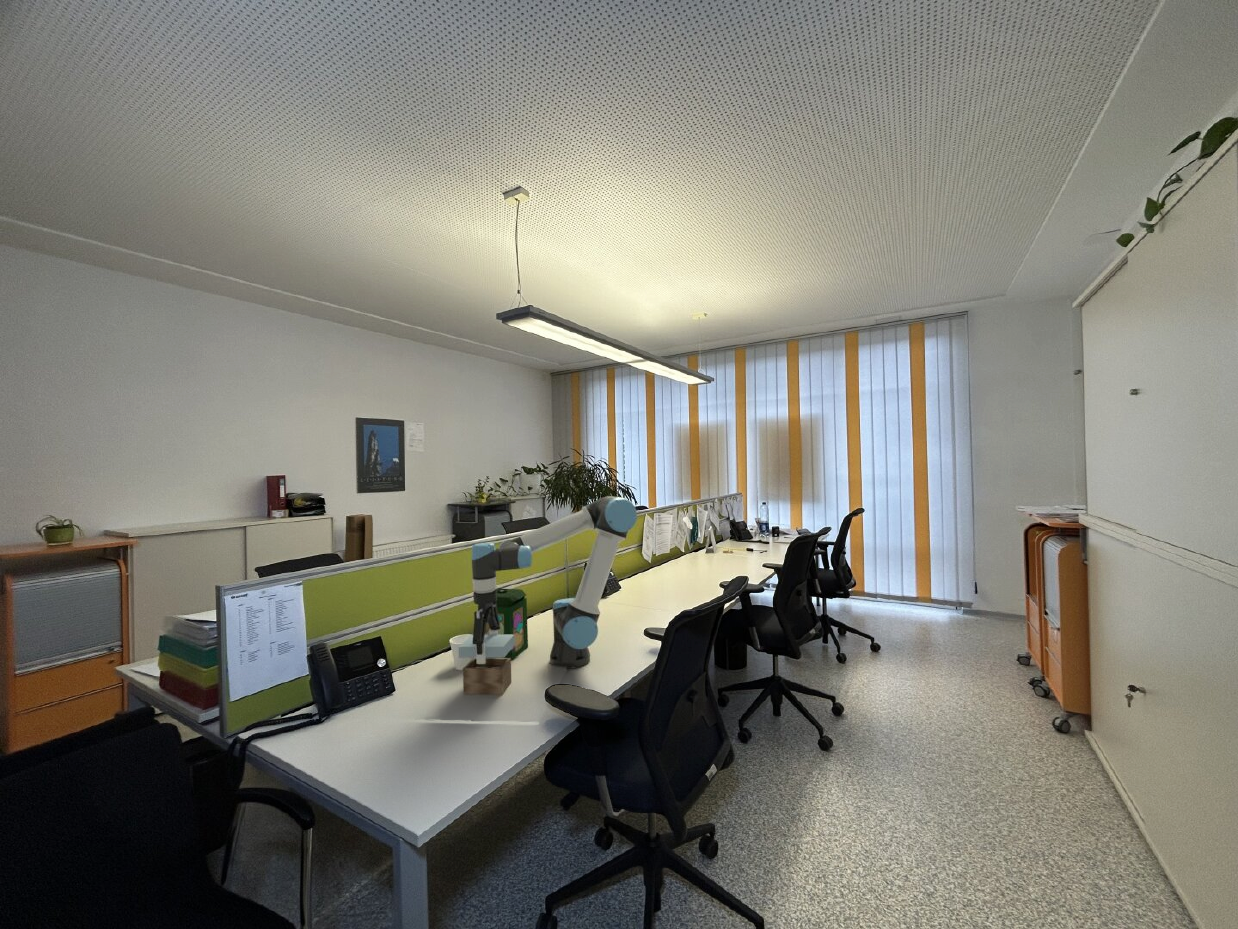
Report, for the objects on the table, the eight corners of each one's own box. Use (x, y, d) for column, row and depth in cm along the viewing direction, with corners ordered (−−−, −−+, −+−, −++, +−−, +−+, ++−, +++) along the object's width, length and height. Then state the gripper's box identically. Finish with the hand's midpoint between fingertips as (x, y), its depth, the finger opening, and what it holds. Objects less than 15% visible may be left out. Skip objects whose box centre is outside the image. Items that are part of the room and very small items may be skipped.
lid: (514, 644, 168) (514, 634, 168) (504, 657, 157) (503, 646, 157) (472, 645, 169) (472, 634, 169) (459, 657, 158) (458, 647, 158)
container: (495, 643, 206) (493, 584, 206) (533, 647, 201) (531, 586, 201) (475, 657, 192) (473, 593, 192) (516, 661, 187) (513, 595, 187)
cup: (470, 675, 176) (469, 644, 176) (444, 673, 178) (443, 643, 178) (483, 663, 185) (482, 634, 185) (459, 662, 187) (458, 633, 187)
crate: (511, 684, 167) (510, 658, 167) (502, 697, 158) (501, 669, 158) (474, 684, 168) (473, 657, 168) (463, 696, 159) (462, 668, 159)
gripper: (487, 581, 175) (489, 643, 175) (459, 600, 152) (462, 671, 152) (507, 581, 174) (510, 643, 174) (482, 600, 151) (485, 671, 151)
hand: (488, 656), depth 163 cm, fingers closed on lid, 11 cm apart
